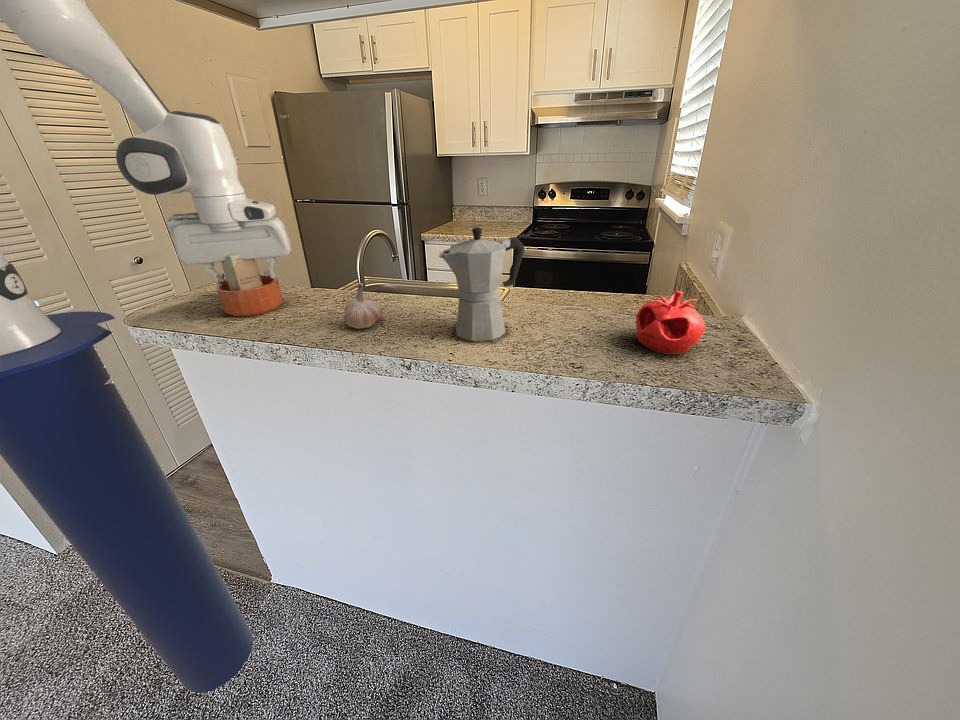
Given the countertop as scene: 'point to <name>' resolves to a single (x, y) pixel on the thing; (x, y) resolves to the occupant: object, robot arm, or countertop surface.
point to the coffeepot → (481, 284)
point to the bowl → (251, 298)
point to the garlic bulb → (362, 311)
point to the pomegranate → (669, 325)
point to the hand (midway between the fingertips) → (246, 280)
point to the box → (241, 273)
